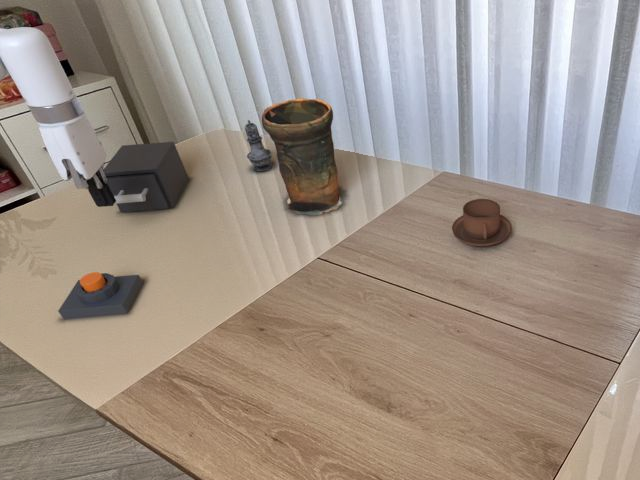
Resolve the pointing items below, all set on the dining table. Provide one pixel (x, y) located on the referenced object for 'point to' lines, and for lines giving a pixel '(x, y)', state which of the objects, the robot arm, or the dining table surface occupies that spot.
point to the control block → (102, 298)
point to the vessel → (305, 153)
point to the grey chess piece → (257, 150)
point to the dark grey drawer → (137, 192)
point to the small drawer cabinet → (152, 166)
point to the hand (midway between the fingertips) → (106, 204)
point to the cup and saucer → (481, 224)
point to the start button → (92, 281)
